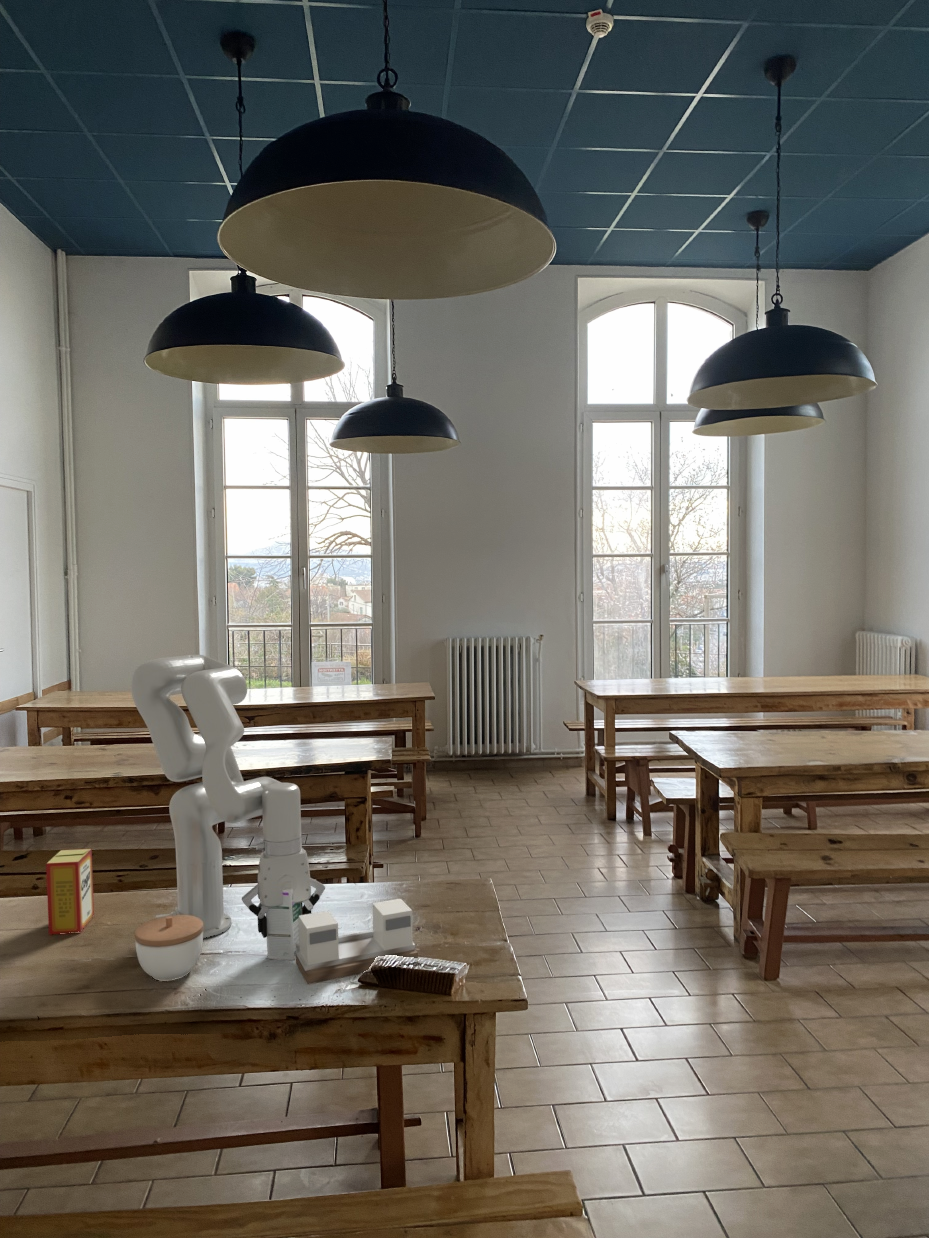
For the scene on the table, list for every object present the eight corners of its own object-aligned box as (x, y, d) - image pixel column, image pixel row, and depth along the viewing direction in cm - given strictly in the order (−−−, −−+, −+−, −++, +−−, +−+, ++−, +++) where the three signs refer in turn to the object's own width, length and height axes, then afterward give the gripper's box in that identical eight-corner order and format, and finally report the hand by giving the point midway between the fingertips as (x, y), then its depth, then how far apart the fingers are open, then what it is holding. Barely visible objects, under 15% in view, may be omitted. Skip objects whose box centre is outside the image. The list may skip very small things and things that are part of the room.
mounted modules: (308, 965, 166) (307, 929, 166) (299, 950, 173) (298, 915, 173) (413, 945, 174) (412, 910, 174) (401, 931, 181) (400, 898, 181)
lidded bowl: (135, 965, 174) (133, 910, 174) (202, 954, 179) (200, 901, 178) (136, 993, 163) (134, 934, 162) (207, 981, 167) (205, 924, 167)
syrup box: (294, 961, 175) (292, 889, 174) (266, 959, 176) (264, 887, 175) (304, 949, 181) (303, 879, 180) (277, 947, 182) (275, 877, 181)
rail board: (307, 984, 165) (306, 963, 165) (295, 962, 174) (295, 943, 174) (418, 962, 174) (417, 942, 173) (401, 942, 183) (401, 924, 183)
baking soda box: (80, 933, 191) (77, 860, 190) (49, 935, 190) (46, 861, 189) (94, 916, 200) (91, 846, 199) (64, 918, 199) (61, 848, 199)
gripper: (241, 857, 170) (244, 946, 171) (329, 844, 177) (332, 930, 178) (235, 846, 177) (238, 932, 178) (320, 835, 184) (323, 917, 185)
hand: (285, 930), depth 178 cm, fingers closed on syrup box, 8 cm apart
